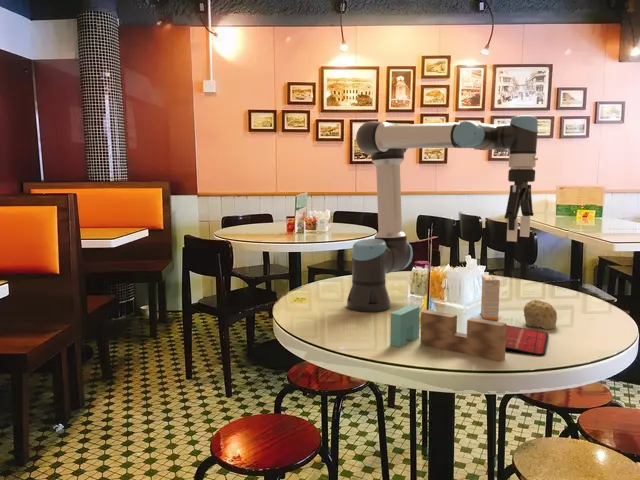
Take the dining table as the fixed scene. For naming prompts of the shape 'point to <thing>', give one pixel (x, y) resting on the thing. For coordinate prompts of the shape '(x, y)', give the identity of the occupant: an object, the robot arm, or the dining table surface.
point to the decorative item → (540, 314)
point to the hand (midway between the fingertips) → (518, 238)
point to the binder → (525, 341)
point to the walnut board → (464, 335)
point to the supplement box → (490, 297)
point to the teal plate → (404, 325)
